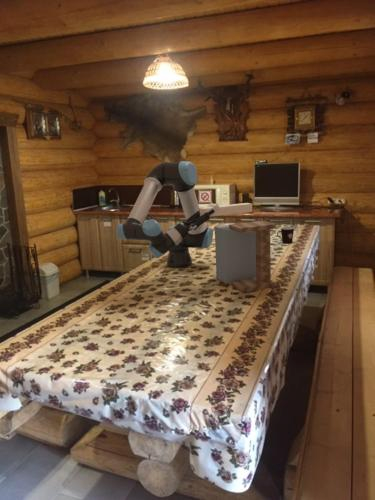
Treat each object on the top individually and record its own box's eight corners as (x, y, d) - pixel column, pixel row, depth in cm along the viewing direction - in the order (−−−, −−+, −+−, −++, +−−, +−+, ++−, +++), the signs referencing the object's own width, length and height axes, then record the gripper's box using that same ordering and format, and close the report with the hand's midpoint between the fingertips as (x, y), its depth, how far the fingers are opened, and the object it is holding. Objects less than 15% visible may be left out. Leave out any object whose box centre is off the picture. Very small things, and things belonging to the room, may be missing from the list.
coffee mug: (292, 241, 291) (292, 226, 288) (294, 243, 282) (294, 229, 280) (275, 241, 292) (275, 227, 290) (277, 244, 284) (277, 229, 281)
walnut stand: (242, 292, 194) (240, 228, 187) (230, 285, 205) (229, 224, 198) (276, 286, 199) (276, 224, 192) (263, 279, 210) (262, 220, 203)
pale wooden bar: (203, 217, 199) (203, 208, 199) (199, 215, 204) (199, 207, 203) (252, 211, 208) (252, 203, 207) (247, 210, 213) (247, 202, 212)
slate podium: (226, 283, 207) (224, 230, 201) (216, 277, 218) (214, 226, 212) (256, 278, 212) (256, 226, 206) (245, 272, 224) (244, 222, 217)
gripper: (176, 236, 209) (212, 209, 213) (188, 243, 192) (227, 214, 196) (168, 224, 206) (204, 197, 210) (180, 230, 190) (220, 200, 194)
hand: (215, 205), depth 203 cm, fingers closed on pale wooden bar, 5 cm apart
